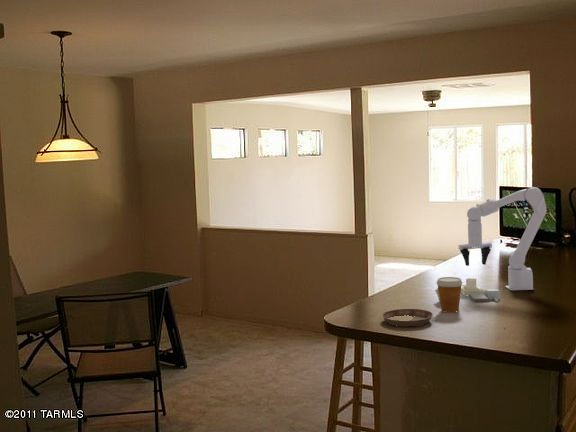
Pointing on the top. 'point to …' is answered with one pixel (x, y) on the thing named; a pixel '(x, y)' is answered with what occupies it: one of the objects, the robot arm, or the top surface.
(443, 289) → the disposable coffee cup
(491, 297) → the cable plug
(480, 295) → the phone
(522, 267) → the robot arm
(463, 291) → the outlet plate
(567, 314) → the top surface
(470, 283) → the charger
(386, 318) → the plant saucer
